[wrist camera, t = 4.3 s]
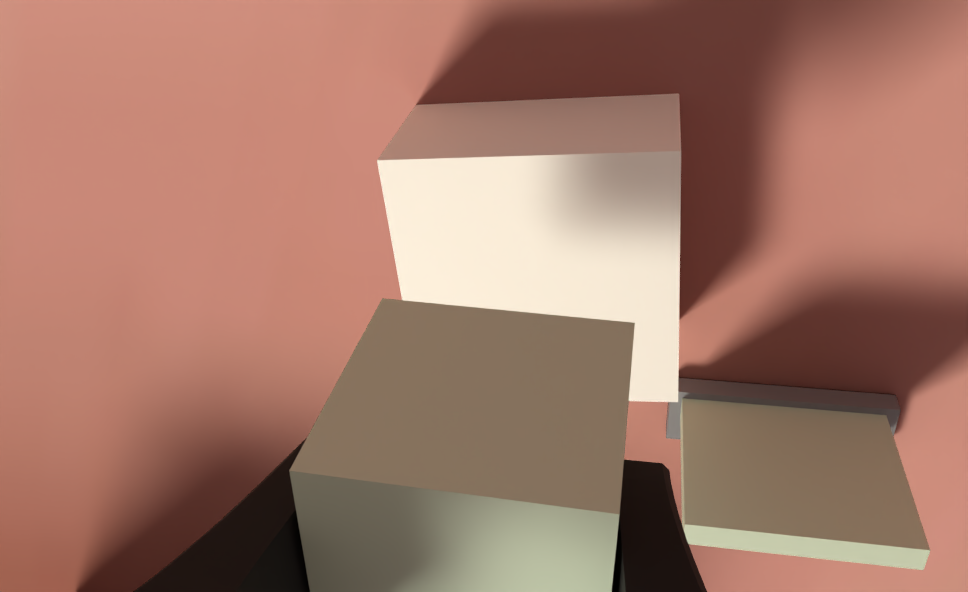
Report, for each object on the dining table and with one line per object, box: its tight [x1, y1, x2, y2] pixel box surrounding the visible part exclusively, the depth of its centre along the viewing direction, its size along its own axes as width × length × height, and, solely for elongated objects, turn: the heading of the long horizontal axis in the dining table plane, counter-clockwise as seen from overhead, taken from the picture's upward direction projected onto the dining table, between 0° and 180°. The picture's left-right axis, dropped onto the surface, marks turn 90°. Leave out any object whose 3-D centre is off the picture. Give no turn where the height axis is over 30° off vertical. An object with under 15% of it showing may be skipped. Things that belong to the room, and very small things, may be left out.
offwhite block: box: [377, 93, 681, 402], centre depth 20 cm, size 6×6×4 cm
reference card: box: [666, 378, 930, 570], centre depth 21 cm, size 6×2×5 cm, turn 92°
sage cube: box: [289, 298, 635, 592], centre depth 13 cm, size 4×4×4 cm
